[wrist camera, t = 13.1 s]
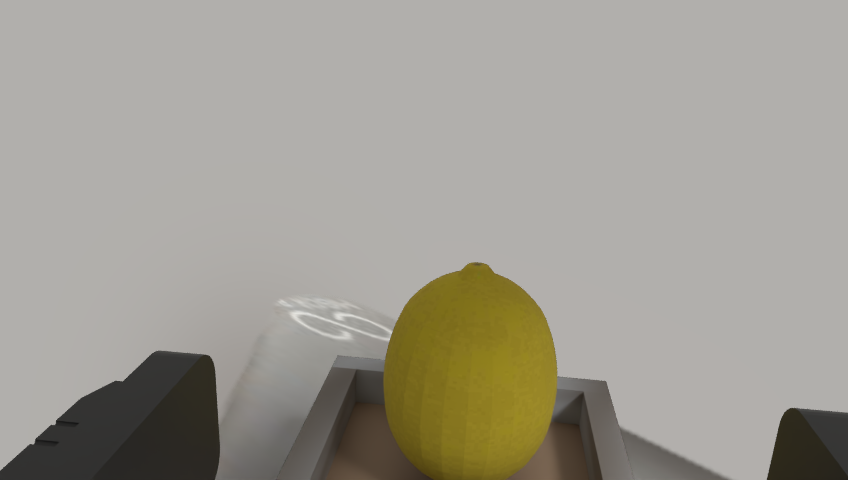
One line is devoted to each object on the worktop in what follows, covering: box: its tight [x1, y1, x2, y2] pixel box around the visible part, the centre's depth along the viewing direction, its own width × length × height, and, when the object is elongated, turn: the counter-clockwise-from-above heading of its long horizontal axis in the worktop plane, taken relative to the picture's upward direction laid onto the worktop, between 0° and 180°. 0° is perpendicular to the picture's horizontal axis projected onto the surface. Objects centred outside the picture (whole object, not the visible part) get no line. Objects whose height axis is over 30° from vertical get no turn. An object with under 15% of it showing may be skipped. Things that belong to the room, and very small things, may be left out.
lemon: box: [383, 262, 557, 480], centre depth 22 cm, size 6×6×8 cm
